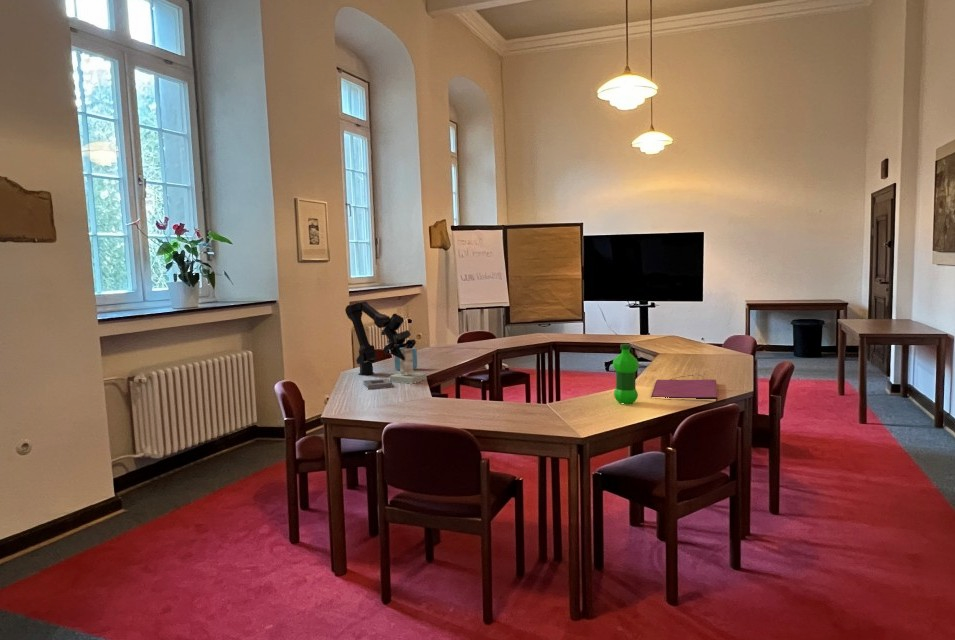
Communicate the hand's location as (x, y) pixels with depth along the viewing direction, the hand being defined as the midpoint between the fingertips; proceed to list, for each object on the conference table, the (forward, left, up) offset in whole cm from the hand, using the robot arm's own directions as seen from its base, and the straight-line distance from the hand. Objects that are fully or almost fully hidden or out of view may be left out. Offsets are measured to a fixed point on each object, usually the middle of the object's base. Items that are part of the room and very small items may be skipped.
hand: (408, 359), depth 336 cm
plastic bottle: (+114, -1, -12) cm, 114 cm away
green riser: (-1, +1, -11) cm, 12 cm away
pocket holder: (-8, -15, -11) cm, 21 cm away
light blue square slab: (-21, +26, -12) cm, 36 cm away
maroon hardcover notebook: (+130, +35, -12) cm, 135 cm away
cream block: (-1, 0, -8) cm, 8 cm away
